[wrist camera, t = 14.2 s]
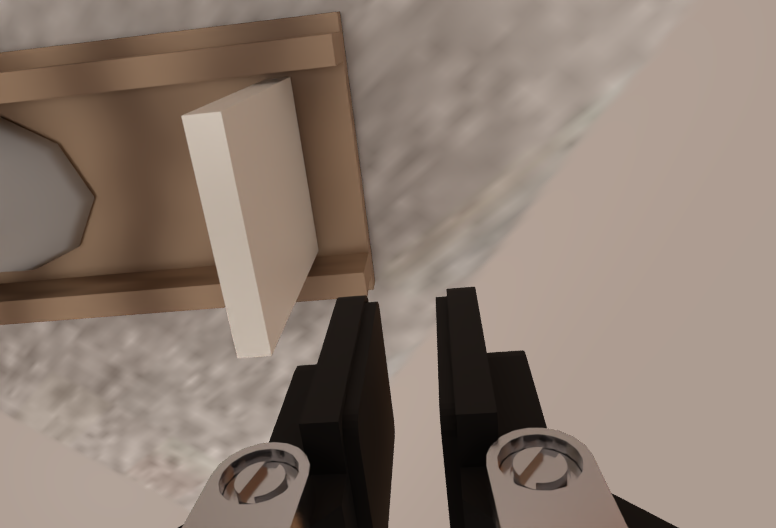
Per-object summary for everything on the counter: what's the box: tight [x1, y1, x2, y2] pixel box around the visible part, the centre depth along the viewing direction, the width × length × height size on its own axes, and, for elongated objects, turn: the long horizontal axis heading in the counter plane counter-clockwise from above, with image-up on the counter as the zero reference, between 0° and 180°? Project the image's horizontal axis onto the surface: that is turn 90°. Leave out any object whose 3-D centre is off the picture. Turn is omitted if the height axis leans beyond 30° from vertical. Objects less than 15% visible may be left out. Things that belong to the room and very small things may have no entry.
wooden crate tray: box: [0, 12, 375, 325], centre depth 28 cm, size 22×13×6 cm, turn 96°
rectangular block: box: [181, 77, 319, 358], centre depth 24 cm, size 1×8×10 cm, turn 6°
